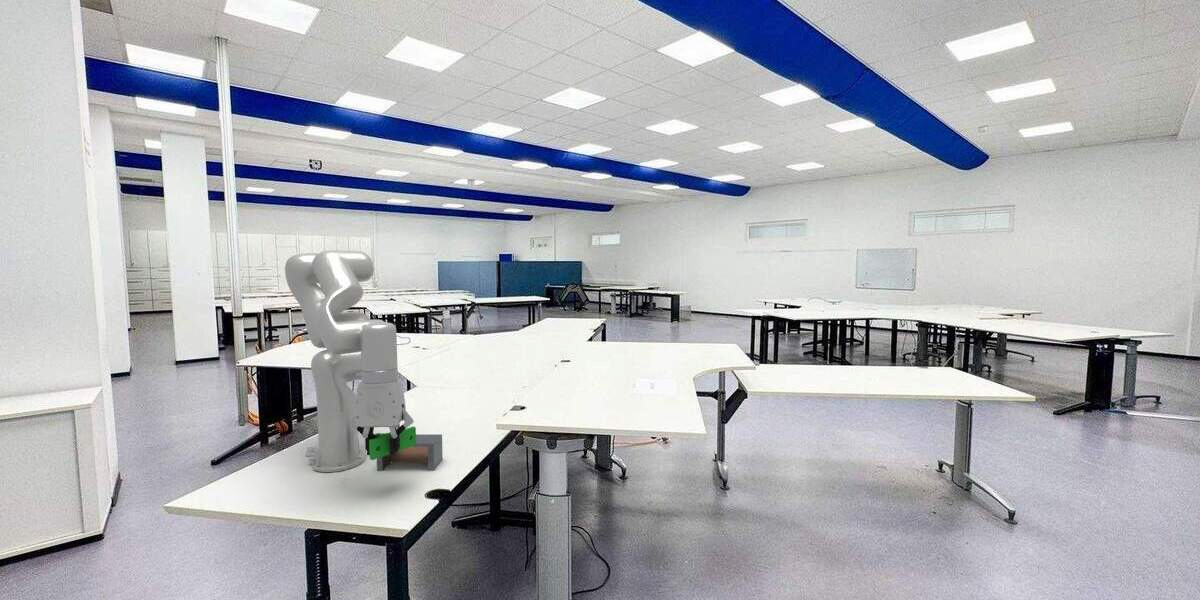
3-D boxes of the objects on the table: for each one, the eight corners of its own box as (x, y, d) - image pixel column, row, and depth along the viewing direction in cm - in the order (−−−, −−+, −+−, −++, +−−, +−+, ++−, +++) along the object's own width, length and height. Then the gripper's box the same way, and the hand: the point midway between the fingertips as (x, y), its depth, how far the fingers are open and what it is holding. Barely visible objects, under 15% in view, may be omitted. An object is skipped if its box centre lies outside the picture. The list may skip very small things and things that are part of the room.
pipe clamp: (407, 442, 116) (407, 424, 116) (416, 445, 114) (415, 427, 114) (363, 456, 107) (362, 437, 106) (372, 460, 105) (371, 440, 104)
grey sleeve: (377, 470, 121) (376, 443, 120) (388, 460, 128) (387, 434, 127) (434, 470, 121) (433, 443, 121) (442, 460, 128) (442, 434, 127)
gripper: (334, 380, 103) (337, 460, 104) (410, 379, 103) (412, 459, 104) (352, 373, 110) (355, 447, 111) (422, 372, 110) (425, 446, 112)
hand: (383, 452), depth 108 cm, fingers closed on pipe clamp, 4 cm apart
